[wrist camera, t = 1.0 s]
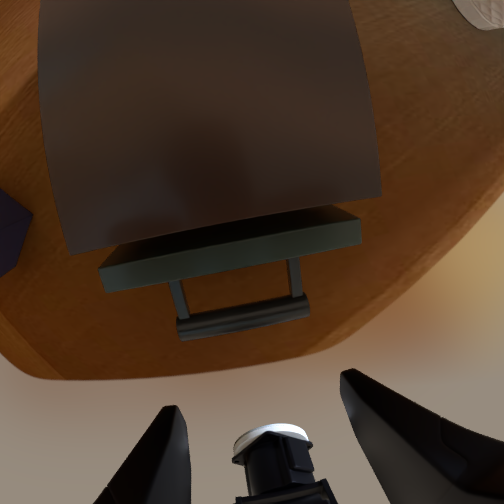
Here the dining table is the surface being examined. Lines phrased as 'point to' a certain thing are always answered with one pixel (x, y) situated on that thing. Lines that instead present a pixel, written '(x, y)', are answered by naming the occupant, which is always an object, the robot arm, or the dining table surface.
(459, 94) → the dining table surface
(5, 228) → the block
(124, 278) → the drawer
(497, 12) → the white cup
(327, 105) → the cabinet
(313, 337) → the dining table surface
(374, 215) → the dining table surface
